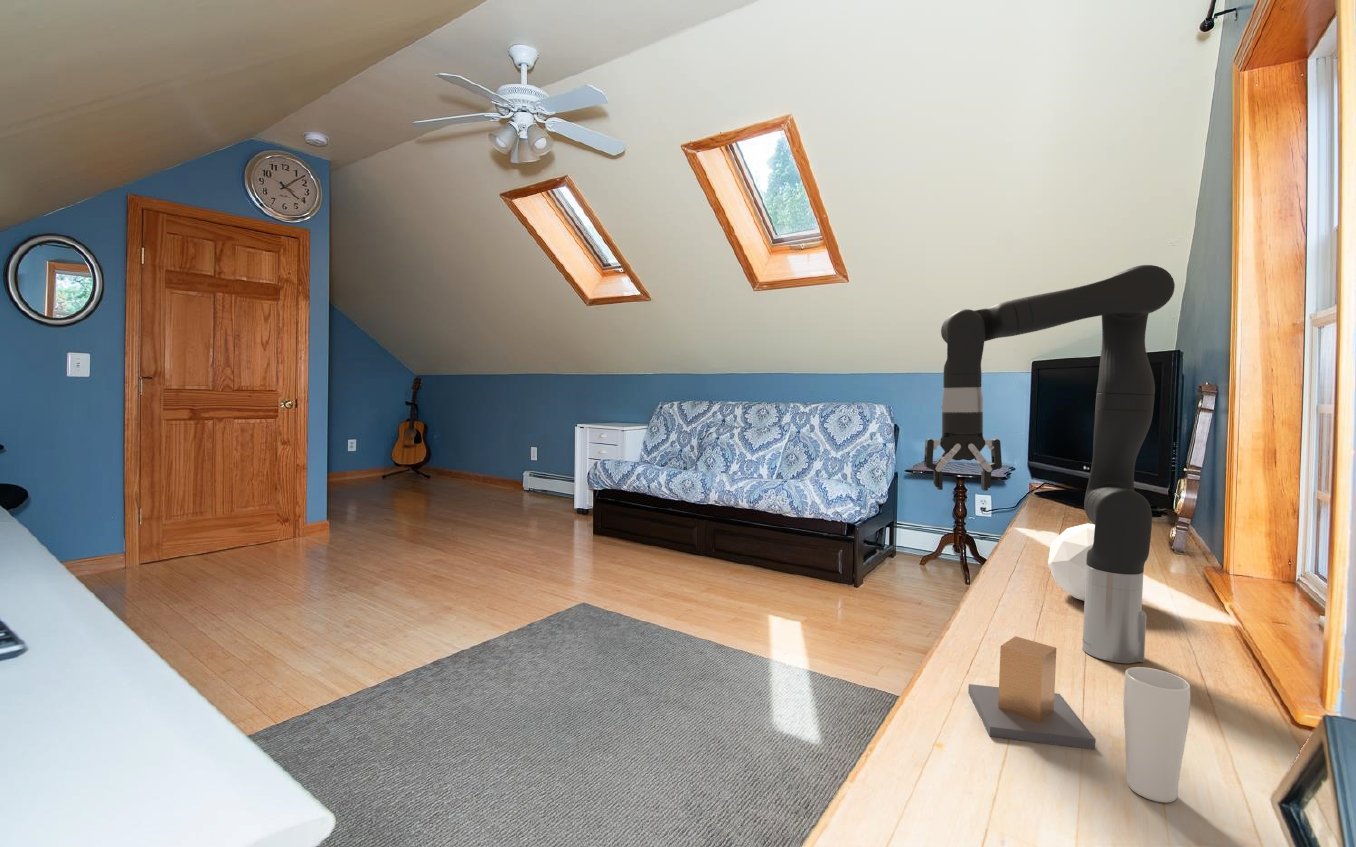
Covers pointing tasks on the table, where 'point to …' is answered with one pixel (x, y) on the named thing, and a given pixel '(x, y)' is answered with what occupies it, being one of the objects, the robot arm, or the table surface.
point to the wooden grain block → (1027, 678)
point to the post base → (1052, 730)
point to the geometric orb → (1071, 558)
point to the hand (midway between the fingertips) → (962, 489)
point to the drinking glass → (1155, 731)
